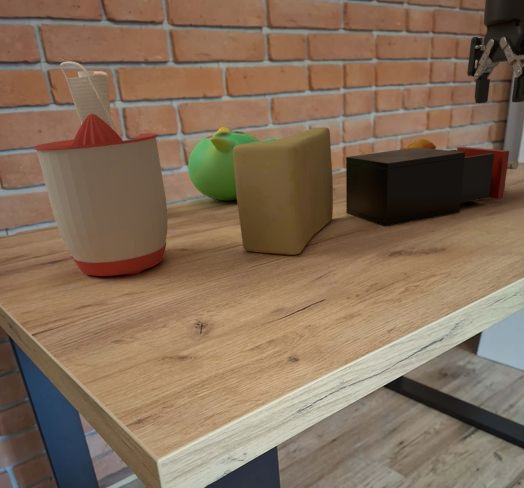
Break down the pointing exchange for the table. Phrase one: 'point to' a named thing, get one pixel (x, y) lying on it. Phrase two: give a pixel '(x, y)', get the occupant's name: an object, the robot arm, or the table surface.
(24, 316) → the table surface
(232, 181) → the toy bird
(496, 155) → the drawer
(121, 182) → the citrus juicer
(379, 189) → the cabinet
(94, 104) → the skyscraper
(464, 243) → the table surface
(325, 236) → the table surface
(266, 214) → the cheese
